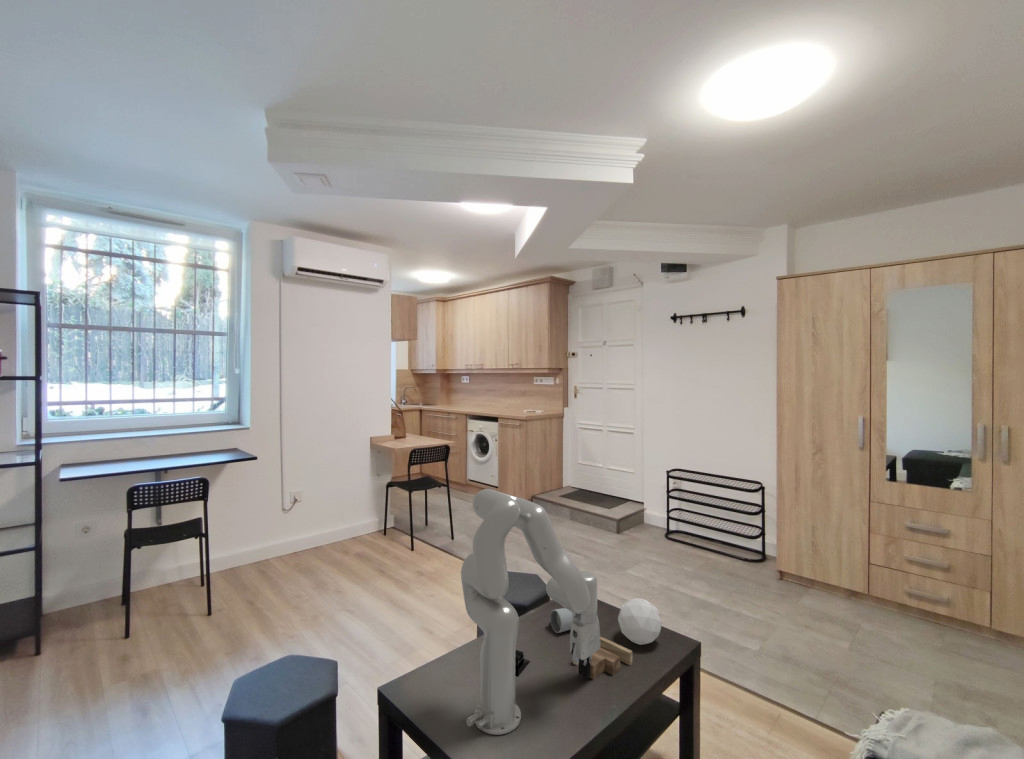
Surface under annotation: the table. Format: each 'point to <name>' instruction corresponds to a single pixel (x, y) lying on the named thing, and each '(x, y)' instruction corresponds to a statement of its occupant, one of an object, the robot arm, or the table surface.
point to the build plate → (520, 662)
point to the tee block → (604, 663)
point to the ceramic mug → (561, 620)
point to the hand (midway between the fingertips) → (584, 675)
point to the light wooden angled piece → (616, 650)
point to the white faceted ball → (639, 621)
